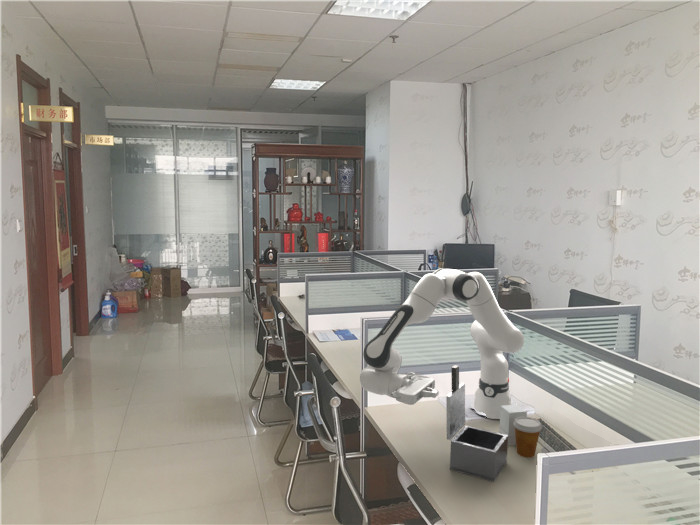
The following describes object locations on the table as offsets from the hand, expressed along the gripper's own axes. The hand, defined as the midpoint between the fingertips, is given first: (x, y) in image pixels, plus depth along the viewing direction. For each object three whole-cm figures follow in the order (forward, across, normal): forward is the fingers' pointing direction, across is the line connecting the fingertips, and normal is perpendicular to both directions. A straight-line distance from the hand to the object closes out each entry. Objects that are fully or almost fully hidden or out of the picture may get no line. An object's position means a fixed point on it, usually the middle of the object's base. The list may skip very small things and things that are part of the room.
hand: (437, 394), depth 198 cm
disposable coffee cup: (+27, +18, +22) cm, 40 cm away
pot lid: (+8, 0, 0) cm, 8 cm away
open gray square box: (+16, 0, +22) cm, 27 cm away
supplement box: (+20, +26, +22) cm, 40 cm away
